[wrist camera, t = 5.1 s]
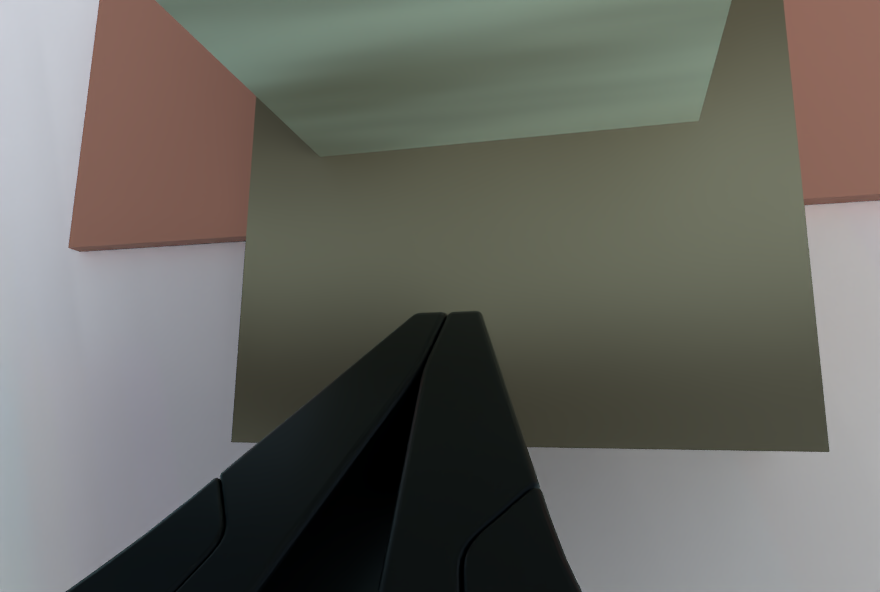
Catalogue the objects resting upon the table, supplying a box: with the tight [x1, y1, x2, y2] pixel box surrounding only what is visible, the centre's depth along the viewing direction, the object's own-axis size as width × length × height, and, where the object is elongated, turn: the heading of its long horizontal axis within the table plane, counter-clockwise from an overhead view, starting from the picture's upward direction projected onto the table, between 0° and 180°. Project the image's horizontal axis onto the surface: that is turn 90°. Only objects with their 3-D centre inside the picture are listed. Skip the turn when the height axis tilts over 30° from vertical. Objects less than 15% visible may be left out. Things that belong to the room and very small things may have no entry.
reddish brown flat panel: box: [68, 0, 880, 252], centre depth 16 cm, size 8×24×1 cm, turn 90°
